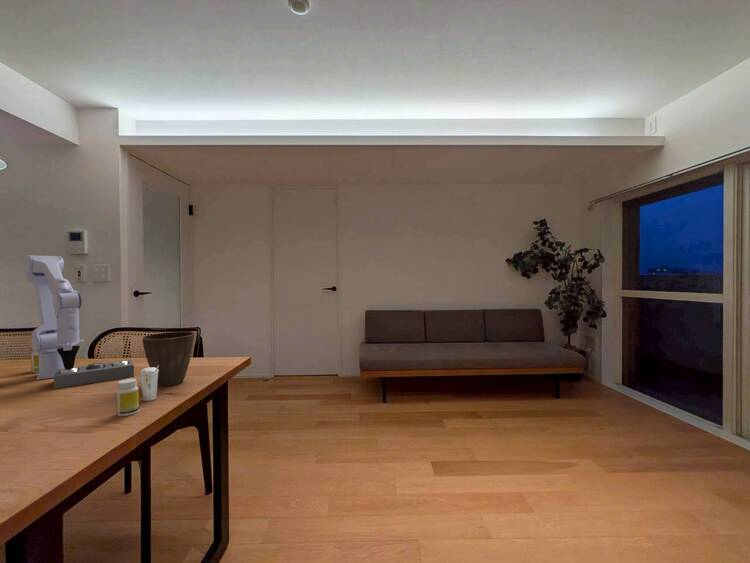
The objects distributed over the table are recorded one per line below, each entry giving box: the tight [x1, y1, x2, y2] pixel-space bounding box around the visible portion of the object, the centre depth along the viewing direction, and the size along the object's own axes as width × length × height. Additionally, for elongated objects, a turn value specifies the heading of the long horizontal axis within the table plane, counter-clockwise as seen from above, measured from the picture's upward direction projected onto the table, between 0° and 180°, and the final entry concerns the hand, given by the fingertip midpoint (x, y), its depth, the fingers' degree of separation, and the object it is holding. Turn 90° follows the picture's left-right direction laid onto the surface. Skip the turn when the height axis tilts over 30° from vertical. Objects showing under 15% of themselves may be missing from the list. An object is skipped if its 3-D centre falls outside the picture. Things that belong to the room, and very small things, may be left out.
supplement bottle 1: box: [30, 350, 39, 374], centre depth 133 cm, size 5×5×10 cm
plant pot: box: [141, 331, 195, 387], centre depth 116 cm, size 15×15×16 cm
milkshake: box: [139, 365, 159, 402], centre depth 101 cm, size 4×5×10 cm
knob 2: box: [112, 359, 129, 366], centre depth 127 cm, size 4×4×4 cm
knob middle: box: [87, 362, 105, 370], centre depth 122 cm, size 4×4×4 cm
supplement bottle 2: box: [115, 378, 140, 417], centre depth 91 cm, size 5×5×8 cm
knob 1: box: [60, 366, 78, 373], centre depth 118 cm, size 4×4×4 cm
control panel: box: [53, 359, 135, 390], centre depth 122 cm, size 11×21×4 cm, turn 129°
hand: (69, 368), depth 118 cm, fingers closed, pressing on knob 1
